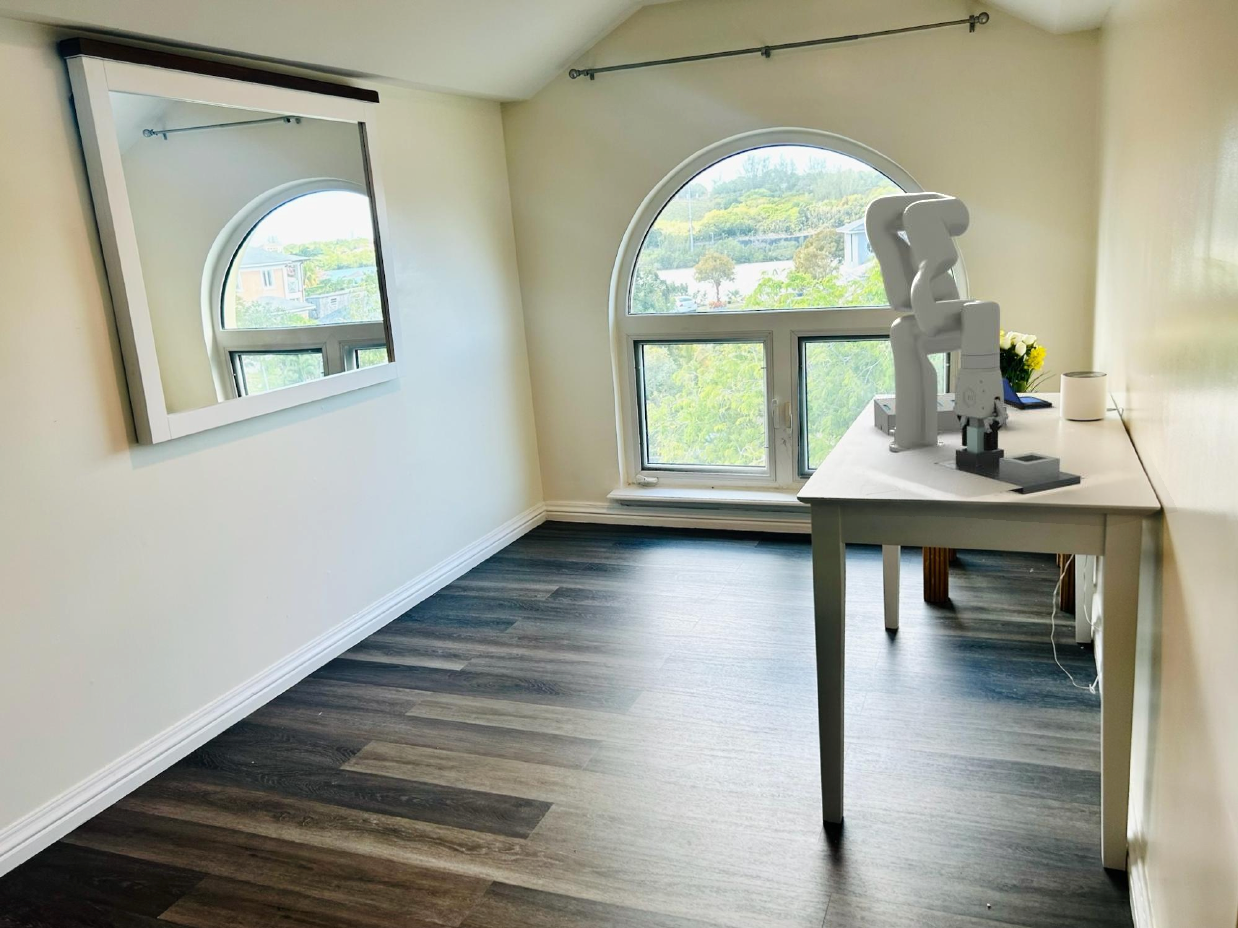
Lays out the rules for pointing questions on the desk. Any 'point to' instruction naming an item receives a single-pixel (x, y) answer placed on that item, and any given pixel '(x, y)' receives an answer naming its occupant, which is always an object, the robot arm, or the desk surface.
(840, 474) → the desk surface
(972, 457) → the panel
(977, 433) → the plug
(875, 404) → the grey slotted box
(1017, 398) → the handheld game console
